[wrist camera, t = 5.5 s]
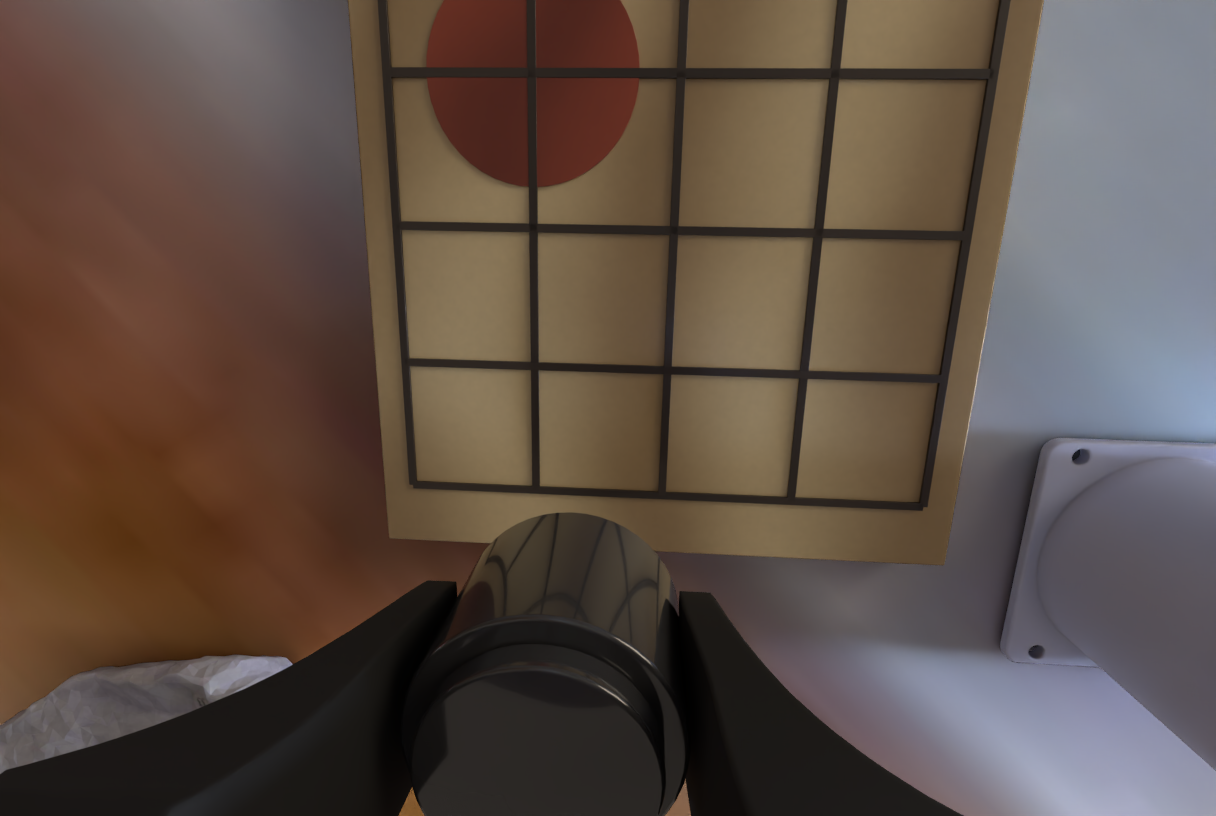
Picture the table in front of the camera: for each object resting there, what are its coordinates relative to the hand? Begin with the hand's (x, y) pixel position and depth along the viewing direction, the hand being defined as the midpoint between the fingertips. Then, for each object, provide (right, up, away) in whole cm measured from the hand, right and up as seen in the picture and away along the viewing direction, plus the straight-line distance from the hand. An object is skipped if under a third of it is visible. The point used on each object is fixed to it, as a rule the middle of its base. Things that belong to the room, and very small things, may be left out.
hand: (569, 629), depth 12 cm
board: (+3, +10, +6) cm, 12 cm away
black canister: (0, 0, +1) cm, 1 cm away
